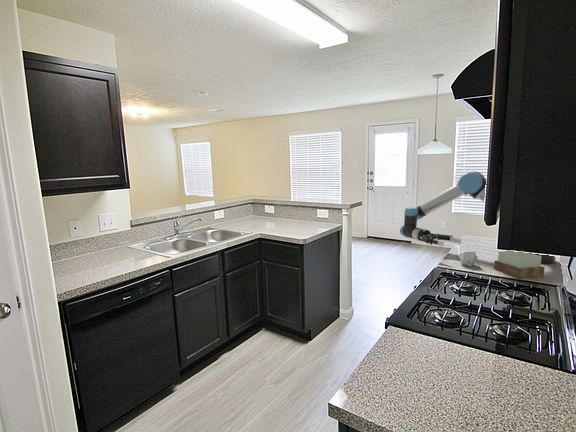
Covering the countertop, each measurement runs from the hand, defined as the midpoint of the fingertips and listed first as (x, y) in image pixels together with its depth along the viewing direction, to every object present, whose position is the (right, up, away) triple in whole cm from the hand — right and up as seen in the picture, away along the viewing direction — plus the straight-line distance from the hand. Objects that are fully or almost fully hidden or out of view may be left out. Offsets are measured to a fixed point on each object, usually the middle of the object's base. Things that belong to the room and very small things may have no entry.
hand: (452, 242), depth 179 cm
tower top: (+22, -9, -21) cm, 31 cm away
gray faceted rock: (+4, -12, -7) cm, 14 cm away
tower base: (+22, -14, -20) cm, 33 cm away
